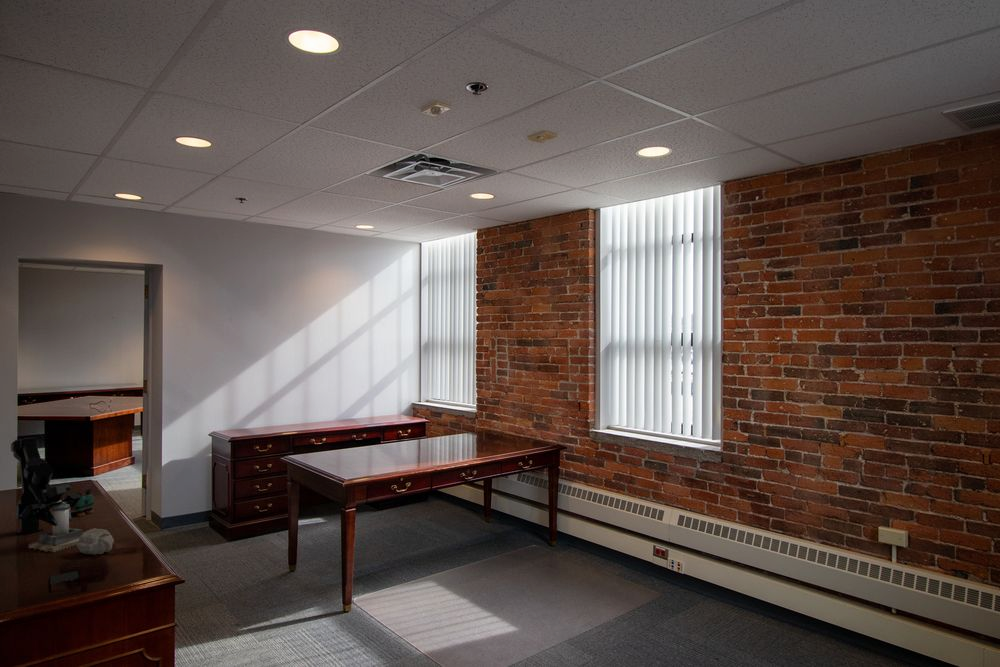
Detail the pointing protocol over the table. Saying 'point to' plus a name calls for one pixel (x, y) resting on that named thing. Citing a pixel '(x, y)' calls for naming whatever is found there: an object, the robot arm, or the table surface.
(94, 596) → the table surface
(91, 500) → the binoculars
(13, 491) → the table surface
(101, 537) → the fossil replica
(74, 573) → the phone
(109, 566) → the table surface
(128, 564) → the table surface
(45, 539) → the collar
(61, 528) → the tube
